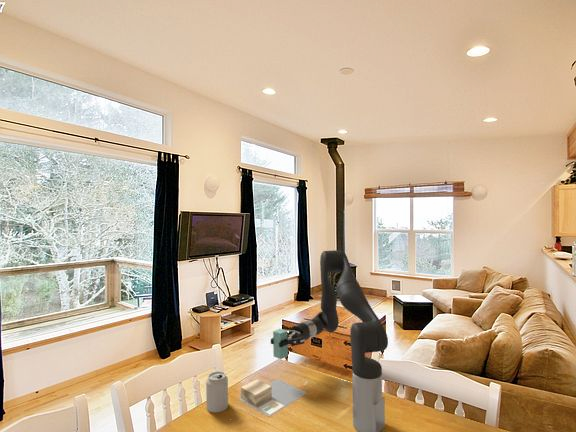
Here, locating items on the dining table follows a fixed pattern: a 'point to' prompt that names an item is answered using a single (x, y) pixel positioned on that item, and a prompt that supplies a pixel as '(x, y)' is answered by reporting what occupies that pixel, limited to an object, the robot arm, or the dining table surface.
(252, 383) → the base block
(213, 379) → the can
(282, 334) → the pillar
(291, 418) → the dining table surface
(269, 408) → the mat
